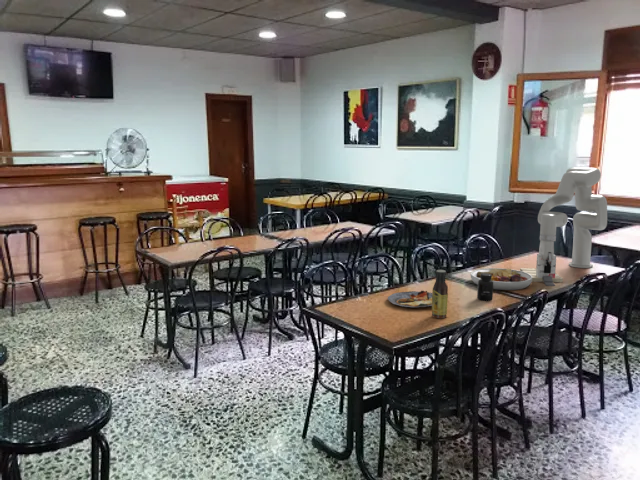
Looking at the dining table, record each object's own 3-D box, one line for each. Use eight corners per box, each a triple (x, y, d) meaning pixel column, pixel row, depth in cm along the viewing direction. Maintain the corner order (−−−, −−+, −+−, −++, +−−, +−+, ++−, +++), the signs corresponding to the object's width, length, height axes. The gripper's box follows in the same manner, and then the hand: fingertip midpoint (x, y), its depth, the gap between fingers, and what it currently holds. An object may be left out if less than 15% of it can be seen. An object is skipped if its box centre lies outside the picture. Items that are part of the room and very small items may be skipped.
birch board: (520, 271, 287) (520, 268, 287) (549, 272, 285) (550, 268, 285) (530, 281, 266) (530, 277, 265) (562, 282, 264) (562, 278, 263)
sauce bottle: (429, 314, 216) (430, 268, 212) (444, 314, 216) (445, 268, 213) (434, 319, 209) (435, 272, 206) (449, 319, 210) (450, 272, 206)
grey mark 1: (542, 278, 265) (542, 275, 264) (550, 278, 264) (551, 276, 263) (544, 283, 262) (544, 281, 261) (552, 283, 261) (552, 281, 260)
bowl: (458, 279, 273) (459, 265, 271) (505, 274, 282) (506, 261, 280) (494, 294, 245) (494, 278, 243) (545, 288, 254) (546, 273, 252)
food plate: (431, 293, 247) (431, 286, 246) (451, 308, 224) (451, 300, 223) (381, 298, 243) (381, 291, 242) (397, 313, 220) (397, 306, 219)
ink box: (552, 275, 269) (553, 253, 266) (555, 278, 264) (556, 255, 262) (535, 275, 270) (536, 253, 268) (537, 277, 265) (539, 255, 263)
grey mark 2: (546, 284, 257) (546, 286, 257) (555, 284, 257) (554, 287, 257) (544, 282, 261) (544, 284, 261) (552, 282, 261) (552, 285, 261)
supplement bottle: (484, 302, 231) (485, 276, 229) (473, 298, 237) (474, 273, 235) (495, 300, 234) (497, 275, 232) (484, 296, 240) (485, 271, 238)
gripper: (535, 234, 272) (533, 268, 275) (544, 240, 255) (542, 275, 259) (550, 234, 271) (548, 268, 274) (560, 240, 254) (558, 275, 258)
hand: (545, 271), depth 266 cm, fingers closed on ink box, 5 cm apart
